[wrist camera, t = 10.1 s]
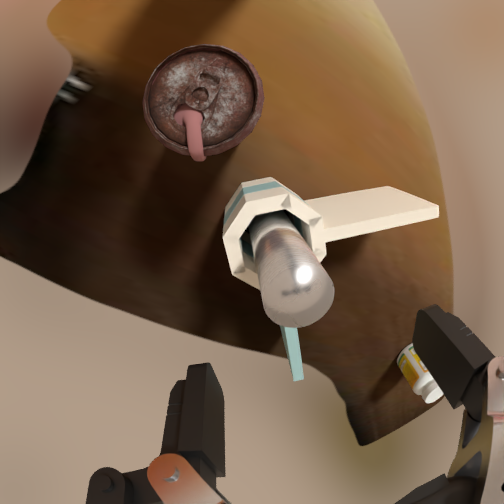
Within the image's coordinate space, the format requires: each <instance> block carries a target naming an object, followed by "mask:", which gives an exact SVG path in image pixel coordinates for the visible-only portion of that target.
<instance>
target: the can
mask: <svg viewBox="0 0 504 504" xmlns="http://www.w3.org/2000/svg"><path fill="white" fill-rule="evenodd" d="M263 102H264V93H263V86H262V80H261V78H260V77H259V75H258V73H257V71H256V69H255V67H254V65H253V64H251V63H250V62H249V61H248V60H247V59H246V58H245V57H244V56H243V55H241V54H240V53H238V52H236V51H234V50H232V49H229V48H227V47H225V46H219V45H210V44H201V45H195V46H190V47H185V48H183V49H181V50H179V51H177V52H175V53H173V54H171V55H169V56H168V57H167V58H166V59H165V60H164V61H162V62H161V63H160V64H159V65H158V66H157V67H156V68H155V70H154V72H153V73H152V75H151V77H150V79H149V80H148V82H147V84H146V87H145V92H144V97H143V110H144V117H145V121H146V123H147V125H148V127H149V129H150V131H151V133H152V135H153V136H154V137H155V138H157V139H158V140H159V141H160V142H161V143H162V144H163V145H164V146H165V147H167V148H169V149H171V150H173V151H175V152H177V153H180V154H182V155H189V156H191V157H192V158H193V159H194V160H195V161H204V160H205V159H206V156H209V155H215V154H220V153H222V152H224V151H226V150H228V149H230V148H233V147H235V146H237V145H238V144H239V143H240V142H241V141H242V140H243V139H245V138H246V137H247V136H248V135H249V134H250V133H251V132H252V130H253V129H254V127H255V125H256V123H257V122H258V120H259V118H260V116H261V112H262V107H263Z"/></svg>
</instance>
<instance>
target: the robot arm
mask: <svg viewBox="0 0 504 504" xmlns="http://www.w3.org/2000/svg"><path fill="white" fill-rule="evenodd" d="M413 348H414V350H415V353H416V354H417V355H418V357H419V358H420V360H421V361H422V363H423V364H424V365H425V367H426V368H427V370H428V371H429V373H430V374H431V376H432V377H433V379H434V380H435V381H436V383H437V384H438V386H439V387H440V389H441V390H442V392H443V394H444V395H445V397H446V398H447V400H448V401H449V403H450V404H451V406H452V407H453V409H455V408H457V407H459V406H460V405H462V404H463V405H464V406H465V410H464V413H463V420H462V427H461V433H460V439H459V445H458V450H457V453H456V456H455V459H454V460H453V462H452V464H451V467H450V469H449V472H448V475H447V478H446V476H445V474H442V475H440V476H439V477H437V478H435V479H433V480H431V481H429V482H427V483H426V484H423V485H421V486H419V487H417V488H416V489H414V490H413V491H412V492H410V493H409V494H408V495H406V496H405V497H403V498H402V499H401V500H399V501H398V502H396V503H395V504H504V356H498V357H495V356H494V355H493V354H492V353H491V352H490V350H489V349H488V348H487V347H486V346H485V345H484V344H483V343H482V342H481V341H480V340H479V338H478V337H477V336H476V335H475V334H472V331H471V330H470V329H469V328H468V327H466V325H465V324H464V323H463V322H462V321H461V320H460V319H459V318H458V317H456V316H454V315H452V314H450V313H448V312H447V313H445V312H444V311H443V310H442V309H441V308H440V307H439V306H438V305H436V304H434V305H431V306H429V307H426V308H423V309H421V310H419V311H418V313H417V317H416V323H415V329H414V334H413ZM224 429H225V428H224V396H223V392H222V388H221V386H220V384H219V382H218V379H217V377H216V375H215V373H214V370H213V368H212V366H211V364H210V363H203V364H195V365H189V366H188V370H187V377H186V380H178V381H177V382H176V384H175V386H174V387H173V389H172V390H171V392H170V398H169V406H168V410H167V416H166V422H165V428H164V435H163V441H162V448H161V453H160V455H159V457H157V458H155V459H154V460H153V461H152V462H151V463H150V465H149V467H146V468H144V469H140V470H136V471H132V472H127V473H120V472H119V471H117V470H116V469H114V468H110V467H106V468H101V469H99V470H97V471H96V472H95V473H94V474H93V475H92V476H91V479H90V482H89V487H88V493H87V499H86V504H231V503H230V502H229V501H228V500H227V499H226V498H225V497H224V496H223V495H222V494H221V493H220V492H219V491H218V490H217V489H216V477H225V433H224V432H225V431H224Z"/></svg>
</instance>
